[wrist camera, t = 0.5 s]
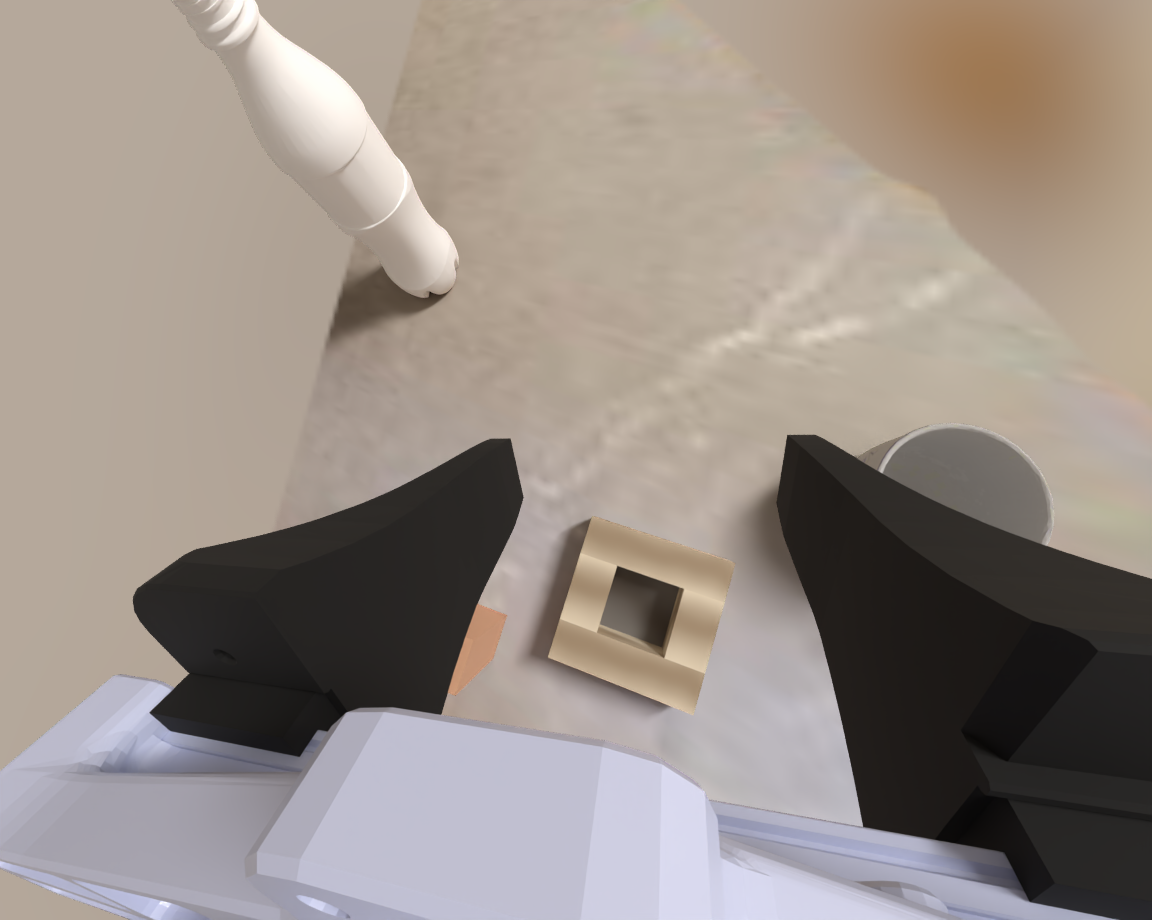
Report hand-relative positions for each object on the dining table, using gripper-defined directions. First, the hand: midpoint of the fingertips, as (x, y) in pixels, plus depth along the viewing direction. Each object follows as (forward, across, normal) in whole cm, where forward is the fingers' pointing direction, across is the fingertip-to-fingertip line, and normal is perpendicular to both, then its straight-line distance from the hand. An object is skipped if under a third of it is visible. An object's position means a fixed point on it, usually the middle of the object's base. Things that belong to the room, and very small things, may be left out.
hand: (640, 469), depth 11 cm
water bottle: (+34, +24, -2) cm, 42 cm away
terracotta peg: (+12, +16, +25) cm, 33 cm away
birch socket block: (+15, +2, +24) cm, 28 cm away
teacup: (+22, -19, +19) cm, 35 cm away
